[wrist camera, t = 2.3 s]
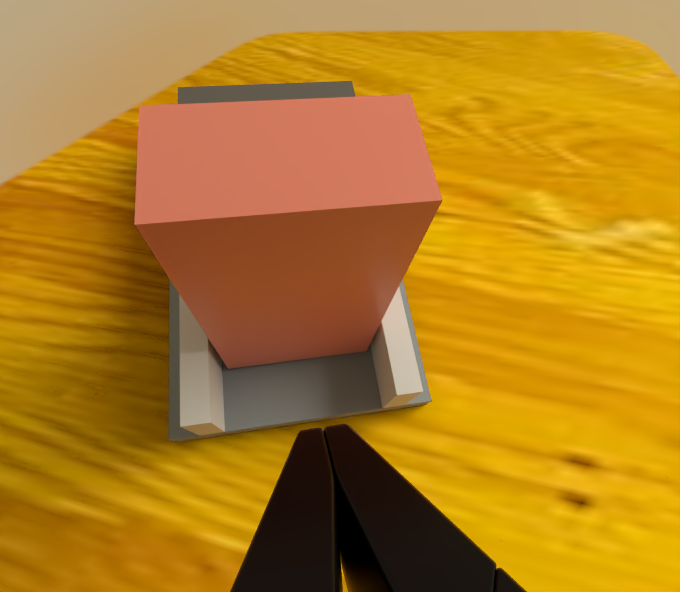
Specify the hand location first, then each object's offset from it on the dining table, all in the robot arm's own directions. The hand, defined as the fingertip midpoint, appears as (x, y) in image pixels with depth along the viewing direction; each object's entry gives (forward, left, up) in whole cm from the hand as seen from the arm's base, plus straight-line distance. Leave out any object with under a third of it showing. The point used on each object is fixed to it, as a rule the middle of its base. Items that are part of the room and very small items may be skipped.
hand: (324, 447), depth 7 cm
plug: (+6, +1, -10) cm, 12 cm away
